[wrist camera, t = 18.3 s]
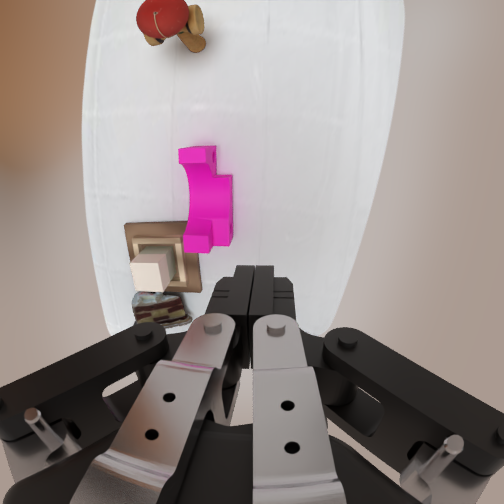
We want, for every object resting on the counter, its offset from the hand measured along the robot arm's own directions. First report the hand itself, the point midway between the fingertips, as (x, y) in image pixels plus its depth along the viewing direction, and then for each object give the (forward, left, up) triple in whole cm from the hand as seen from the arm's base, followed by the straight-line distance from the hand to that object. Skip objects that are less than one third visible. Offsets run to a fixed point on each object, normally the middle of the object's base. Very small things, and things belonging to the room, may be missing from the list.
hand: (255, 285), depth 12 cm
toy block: (-3, +9, -36) cm, 37 cm away
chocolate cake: (-23, +17, -36) cm, 46 cm away
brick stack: (-14, +19, -34) cm, 41 cm away
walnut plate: (-14, +19, -35) cm, 42 cm away
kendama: (+22, +11, -35) cm, 43 cm away
